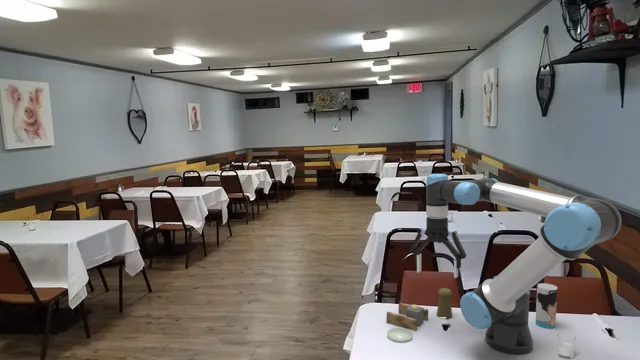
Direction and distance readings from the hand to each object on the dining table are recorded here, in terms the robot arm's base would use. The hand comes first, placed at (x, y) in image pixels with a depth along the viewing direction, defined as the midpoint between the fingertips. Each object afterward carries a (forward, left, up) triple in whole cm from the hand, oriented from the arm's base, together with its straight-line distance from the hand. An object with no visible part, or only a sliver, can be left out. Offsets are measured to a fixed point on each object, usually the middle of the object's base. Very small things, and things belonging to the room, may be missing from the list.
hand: (437, 274), depth 155 cm
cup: (-32, -28, -22) cm, 48 cm away
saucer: (+9, +12, -22) cm, 26 cm away
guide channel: (+12, -1, -22) cm, 25 cm away
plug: (+9, -1, -22) cm, 23 cm away
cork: (+2, -14, -22) cm, 26 cm away
